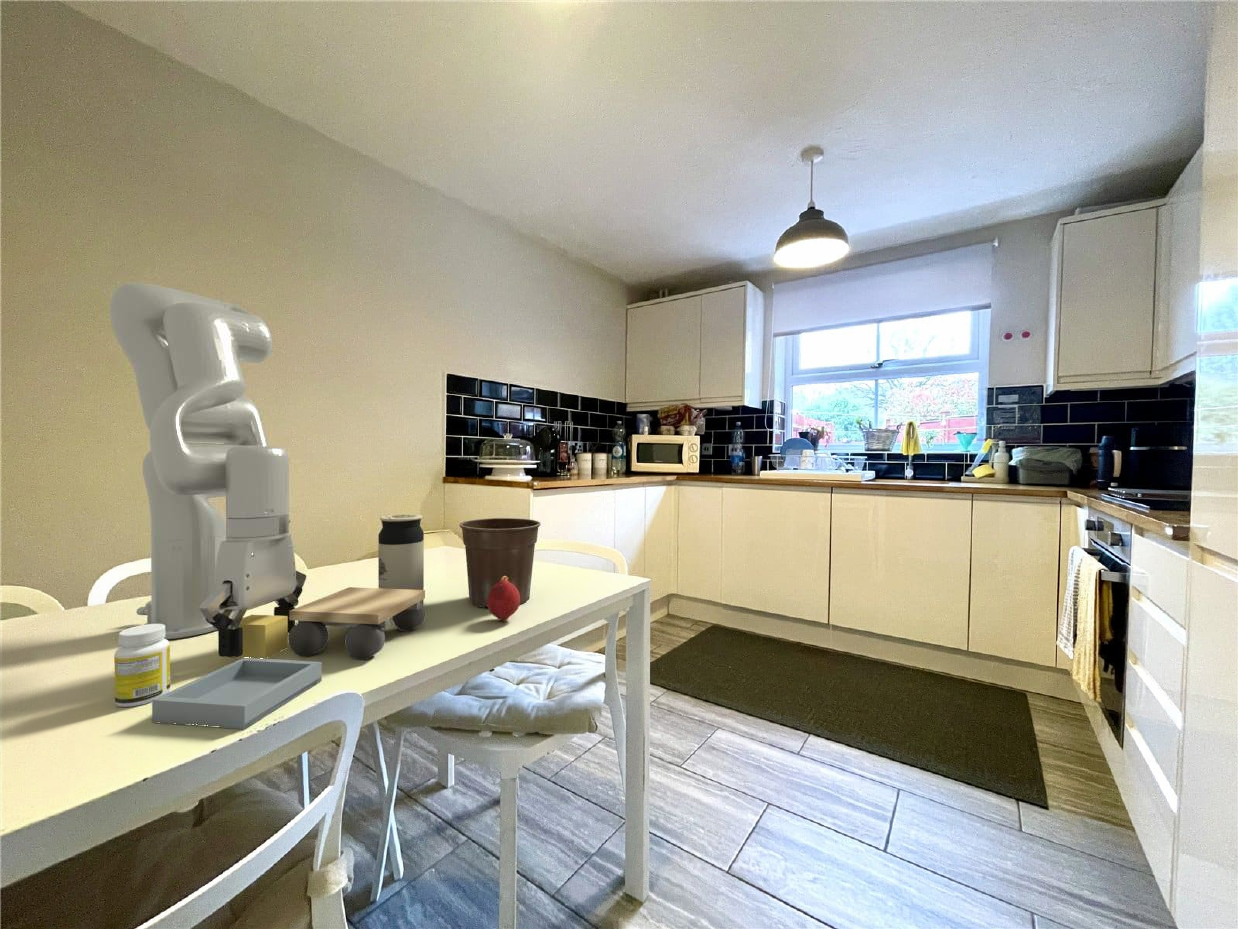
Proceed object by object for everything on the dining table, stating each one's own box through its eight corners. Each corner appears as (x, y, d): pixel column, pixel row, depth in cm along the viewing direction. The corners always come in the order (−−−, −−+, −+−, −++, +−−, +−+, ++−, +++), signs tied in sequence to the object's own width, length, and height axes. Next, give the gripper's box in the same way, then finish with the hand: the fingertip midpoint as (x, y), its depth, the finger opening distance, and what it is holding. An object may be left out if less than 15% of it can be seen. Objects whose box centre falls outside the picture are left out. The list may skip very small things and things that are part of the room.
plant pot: (556, 599, 99) (556, 522, 98) (489, 618, 86) (489, 530, 86) (509, 585, 109) (510, 516, 109) (444, 601, 97) (444, 522, 97)
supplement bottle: (140, 689, 59) (140, 622, 59) (180, 687, 60) (180, 621, 60) (102, 709, 55) (101, 636, 55) (146, 707, 55) (146, 635, 55)
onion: (511, 627, 82) (511, 581, 82) (481, 625, 83) (481, 579, 83) (525, 616, 88) (525, 573, 88) (496, 614, 89) (496, 572, 89)
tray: (152, 722, 52) (152, 700, 52) (243, 676, 63) (243, 657, 63) (244, 729, 51) (244, 706, 51) (321, 681, 62) (321, 662, 62)
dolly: (288, 655, 70) (288, 611, 70) (349, 624, 83) (349, 587, 83) (377, 660, 68) (377, 615, 68) (425, 628, 81) (425, 589, 81)
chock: (228, 657, 69) (227, 623, 69) (252, 646, 73) (251, 614, 73) (265, 659, 69) (265, 625, 69) (287, 648, 73) (287, 616, 73)
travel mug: (421, 600, 97) (422, 513, 97) (425, 612, 90) (425, 517, 90) (378, 606, 93) (378, 515, 93) (378, 618, 86) (378, 519, 86)
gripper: (283, 520, 80) (283, 623, 80) (175, 536, 63) (176, 667, 63) (324, 521, 79) (324, 624, 79) (227, 537, 62) (228, 670, 62)
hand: (259, 643), depth 71 cm, fingers open, 8 cm apart
